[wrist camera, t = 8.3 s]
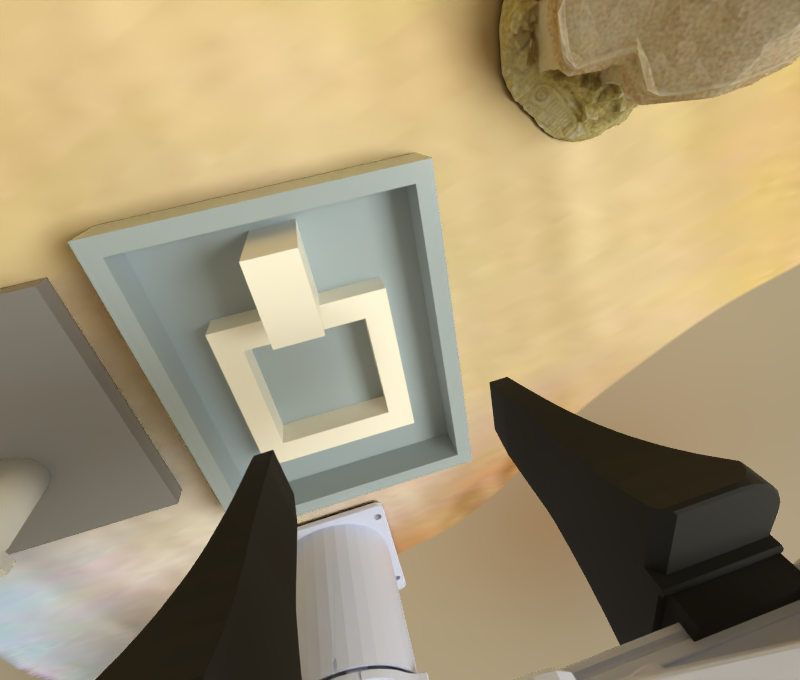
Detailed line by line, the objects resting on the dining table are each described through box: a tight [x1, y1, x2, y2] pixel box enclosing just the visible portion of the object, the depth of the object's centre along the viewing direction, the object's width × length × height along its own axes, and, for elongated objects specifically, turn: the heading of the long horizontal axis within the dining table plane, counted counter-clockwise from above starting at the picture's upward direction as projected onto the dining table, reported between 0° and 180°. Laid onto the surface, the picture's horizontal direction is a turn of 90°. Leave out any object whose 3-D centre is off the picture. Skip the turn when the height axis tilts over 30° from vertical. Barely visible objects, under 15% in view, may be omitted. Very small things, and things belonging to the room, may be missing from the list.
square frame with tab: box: [205, 219, 414, 463], centre depth 19 cm, size 12×8×4 cm
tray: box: [68, 153, 472, 516], centre depth 21 cm, size 17×14×2 cm
